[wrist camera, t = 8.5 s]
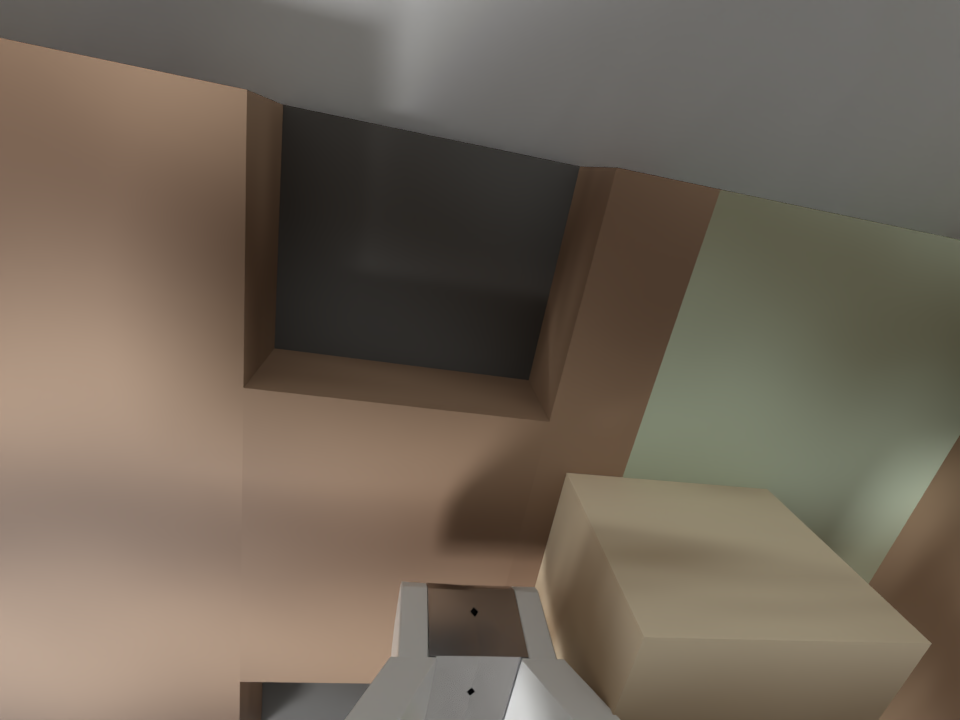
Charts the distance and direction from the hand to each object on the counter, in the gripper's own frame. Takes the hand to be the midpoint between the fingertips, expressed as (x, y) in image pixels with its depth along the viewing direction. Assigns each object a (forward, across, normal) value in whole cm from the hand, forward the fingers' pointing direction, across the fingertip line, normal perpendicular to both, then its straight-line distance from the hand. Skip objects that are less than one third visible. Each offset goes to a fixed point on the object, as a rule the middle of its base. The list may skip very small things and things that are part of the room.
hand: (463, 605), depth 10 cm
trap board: (+4, +1, 0) cm, 4 cm away
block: (+1, -4, 0) cm, 5 cm away
